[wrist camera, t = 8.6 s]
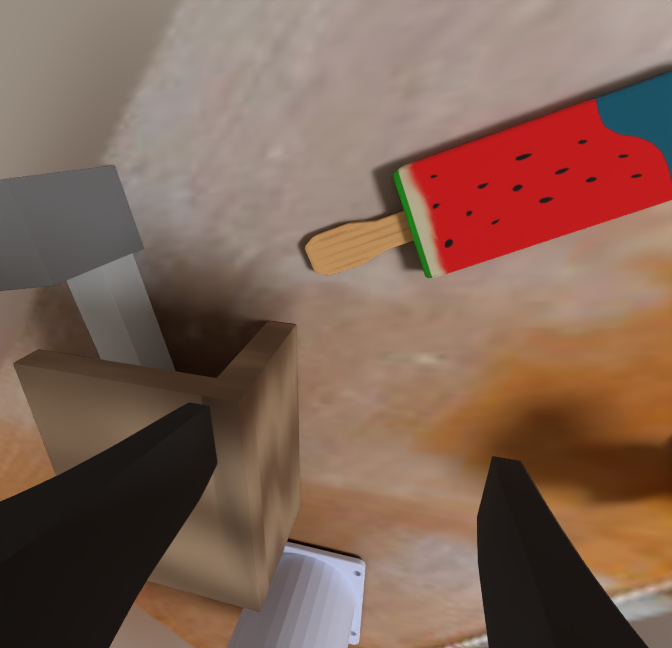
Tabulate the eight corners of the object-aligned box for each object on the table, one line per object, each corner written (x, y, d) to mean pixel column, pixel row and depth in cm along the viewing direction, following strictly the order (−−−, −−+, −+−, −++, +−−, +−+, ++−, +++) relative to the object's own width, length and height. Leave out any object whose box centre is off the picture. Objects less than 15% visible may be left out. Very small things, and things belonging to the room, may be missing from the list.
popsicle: (285, 214, 17) (728, 37, 12) (296, 207, 19) (700, 46, 13) (325, 309, 19) (736, 191, 13) (333, 297, 20) (710, 185, 15)
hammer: (217, 454, 26) (165, 528, 21) (164, 452, 27) (104, 522, 23) (114, 165, 19) (4, 178, 14) (49, 177, 20) (-73, 194, 16)
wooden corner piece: (300, 505, 26) (260, 612, 21) (162, 475, 28) (90, 564, 23) (296, 324, 21) (238, 402, 15) (123, 302, 23) (12, 363, 17)
